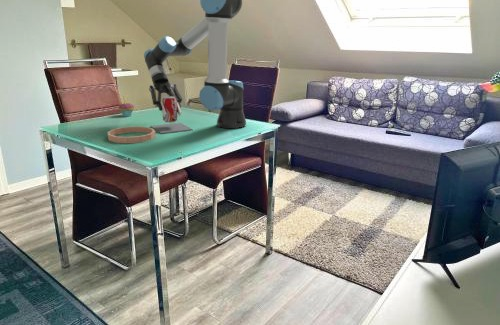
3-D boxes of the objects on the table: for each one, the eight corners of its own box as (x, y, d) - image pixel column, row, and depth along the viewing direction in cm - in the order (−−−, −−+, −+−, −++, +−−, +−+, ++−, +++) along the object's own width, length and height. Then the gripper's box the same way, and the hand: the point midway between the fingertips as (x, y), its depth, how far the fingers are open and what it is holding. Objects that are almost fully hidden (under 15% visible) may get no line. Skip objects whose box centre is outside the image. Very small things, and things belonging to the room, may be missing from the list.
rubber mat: (180, 123, 198) (180, 122, 198) (192, 130, 185) (192, 129, 185) (150, 127, 190) (150, 125, 190) (160, 134, 177) (160, 132, 177)
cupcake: (130, 117, 210) (128, 95, 206) (116, 116, 212) (114, 95, 208) (137, 114, 218) (135, 93, 214) (123, 113, 219) (122, 92, 216)
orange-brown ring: (161, 132, 179) (160, 127, 178) (144, 144, 160) (144, 138, 160) (120, 130, 181) (120, 125, 181) (99, 141, 163) (99, 136, 162)
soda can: (170, 123, 182) (169, 98, 178) (159, 121, 185) (158, 97, 182) (180, 121, 188) (179, 96, 184) (169, 119, 191) (168, 95, 187)
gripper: (175, 80, 198) (189, 117, 191) (137, 82, 188) (151, 121, 180) (179, 71, 192) (193, 108, 185) (140, 72, 182) (154, 112, 174)
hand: (172, 114), depth 182 cm, fingers closed on soda can, 7 cm apart
